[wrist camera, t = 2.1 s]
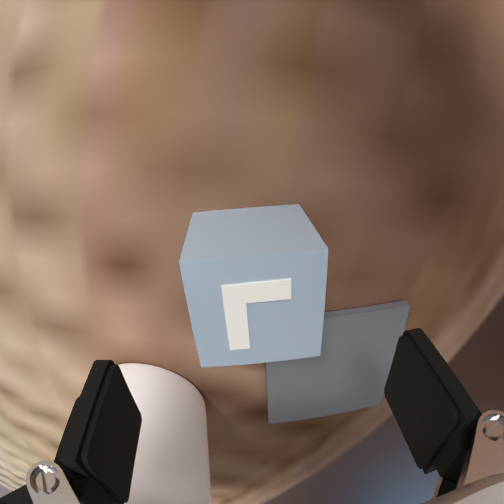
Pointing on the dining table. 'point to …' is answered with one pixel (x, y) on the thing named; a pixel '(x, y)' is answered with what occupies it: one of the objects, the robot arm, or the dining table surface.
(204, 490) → the candle holder
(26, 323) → the dining table surface
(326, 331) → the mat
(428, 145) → the dining table surface
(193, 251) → the letter block
